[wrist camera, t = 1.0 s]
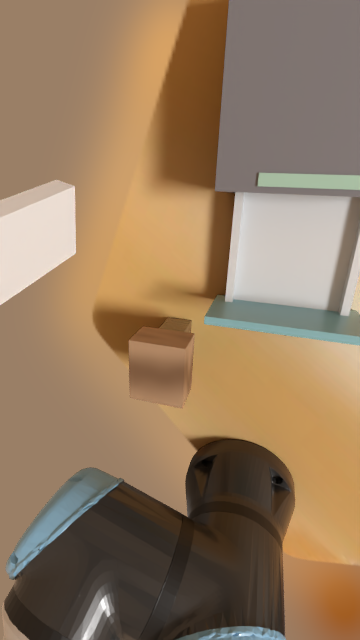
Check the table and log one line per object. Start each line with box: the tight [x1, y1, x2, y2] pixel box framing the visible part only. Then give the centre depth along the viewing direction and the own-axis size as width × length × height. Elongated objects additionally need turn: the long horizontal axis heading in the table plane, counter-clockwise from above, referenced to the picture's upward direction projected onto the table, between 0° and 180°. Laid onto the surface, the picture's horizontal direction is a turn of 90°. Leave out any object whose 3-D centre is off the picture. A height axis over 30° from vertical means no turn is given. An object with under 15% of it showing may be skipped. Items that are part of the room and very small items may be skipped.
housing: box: [215, 0, 360, 197], centre depth 26 cm, size 16×15×8 cm
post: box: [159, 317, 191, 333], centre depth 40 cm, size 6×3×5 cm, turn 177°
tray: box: [204, 192, 360, 345], centre depth 30 cm, size 16×15×8 cm
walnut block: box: [129, 326, 194, 408], centre depth 36 cm, size 7×6×4 cm
